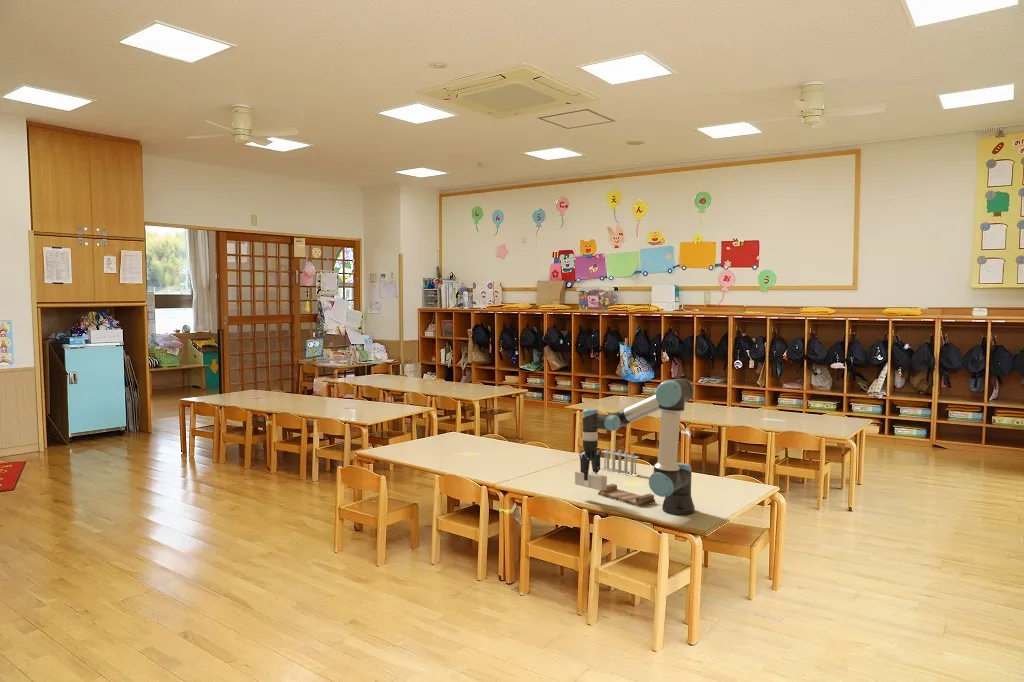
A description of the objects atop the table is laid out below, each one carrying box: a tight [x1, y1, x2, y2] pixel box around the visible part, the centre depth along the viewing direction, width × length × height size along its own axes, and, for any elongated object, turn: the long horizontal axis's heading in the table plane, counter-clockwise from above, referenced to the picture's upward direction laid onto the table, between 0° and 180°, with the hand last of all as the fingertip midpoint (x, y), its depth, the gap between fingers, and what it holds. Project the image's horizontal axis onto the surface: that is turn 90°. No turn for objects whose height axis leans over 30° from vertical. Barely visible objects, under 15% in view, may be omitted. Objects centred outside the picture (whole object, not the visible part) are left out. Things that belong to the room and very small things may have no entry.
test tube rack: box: [600, 447, 640, 475], centre depth 417 cm, size 25×4×13 cm, turn 44°
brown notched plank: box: [597, 483, 656, 508], centre depth 362 cm, size 28×12×4 cm, turn 38°
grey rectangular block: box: [574, 470, 608, 492], centre depth 356 cm, size 18×4×6 cm, turn 41°
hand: (590, 485), depth 356 cm, fingers closed on grey rectangular block, 4 cm apart
